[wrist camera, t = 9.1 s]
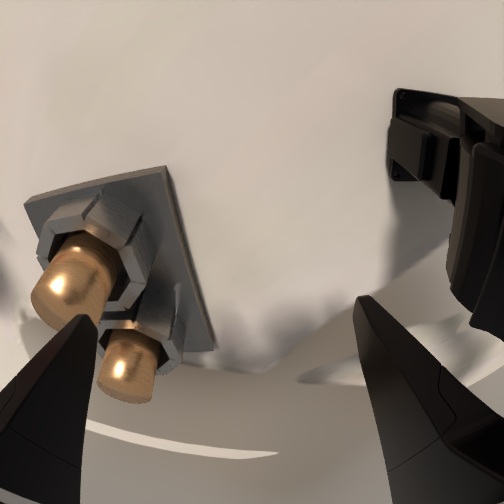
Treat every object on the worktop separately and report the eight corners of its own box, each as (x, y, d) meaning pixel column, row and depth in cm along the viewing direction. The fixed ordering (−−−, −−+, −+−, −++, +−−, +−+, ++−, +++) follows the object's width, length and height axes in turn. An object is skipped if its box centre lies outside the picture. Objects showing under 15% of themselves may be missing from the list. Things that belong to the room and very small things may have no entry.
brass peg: (137, 263, 21) (108, 339, 15) (89, 268, 21) (55, 337, 16) (116, 211, 18) (72, 282, 13) (66, 221, 18) (18, 286, 13)
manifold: (31, 196, 18) (-29, 260, 12) (165, 165, 18) (123, 236, 11) (109, 343, 29) (91, 407, 22) (214, 341, 29) (210, 416, 22)
